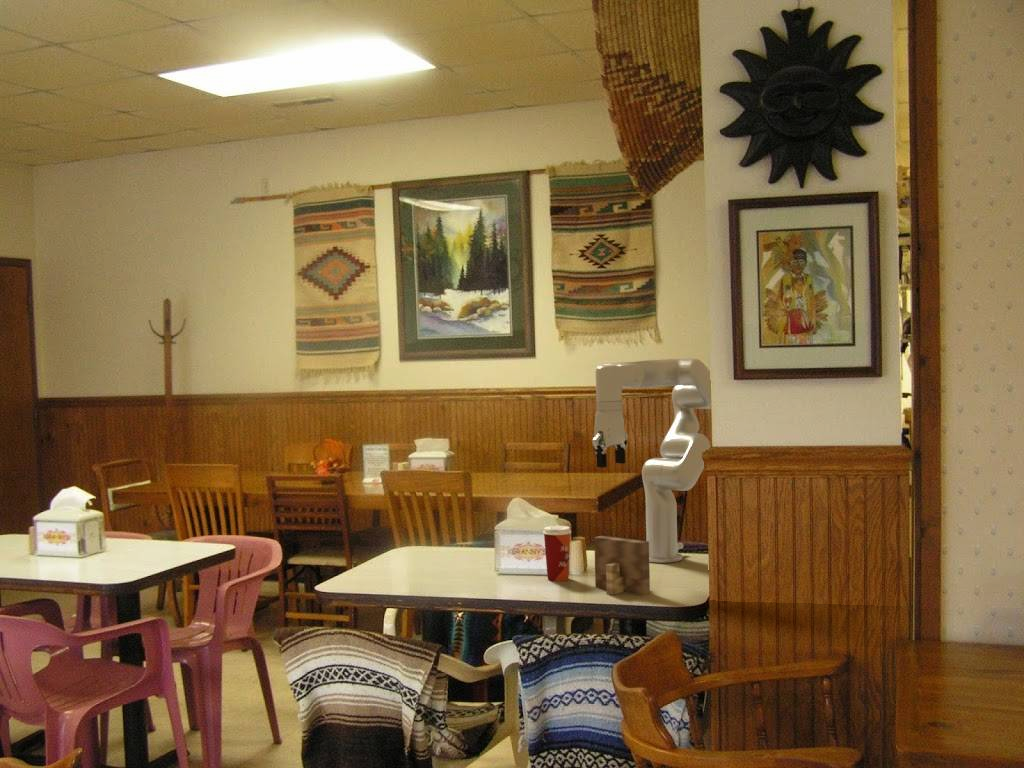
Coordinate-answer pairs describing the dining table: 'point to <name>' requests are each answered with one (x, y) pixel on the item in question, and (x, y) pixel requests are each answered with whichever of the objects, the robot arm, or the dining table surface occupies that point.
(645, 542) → the walnut block
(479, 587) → the dining table surface
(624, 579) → the brown u-shaped block
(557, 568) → the coffee cup
